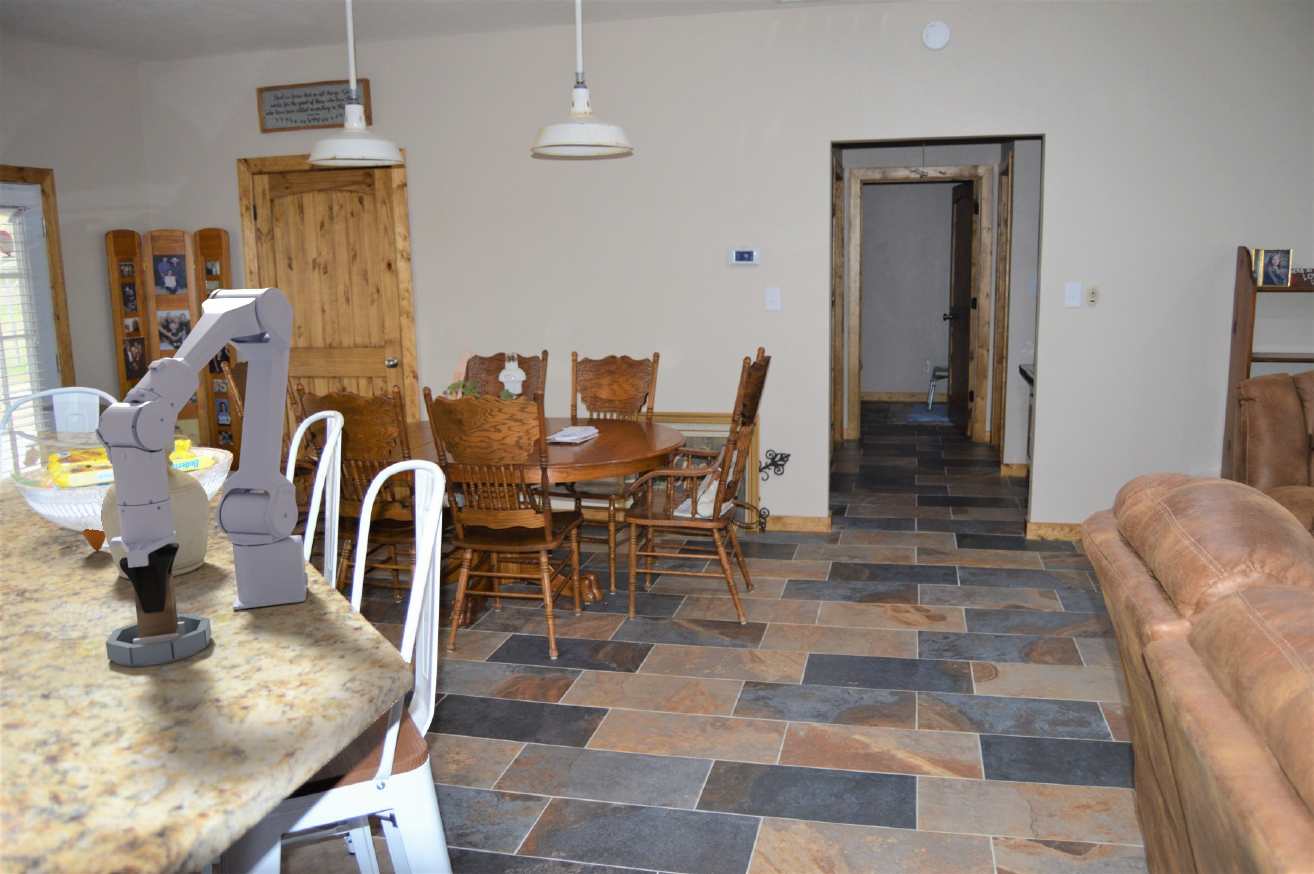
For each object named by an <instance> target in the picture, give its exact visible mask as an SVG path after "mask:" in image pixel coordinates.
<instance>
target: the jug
mask: <svg viewBox="0 0 1314 874" xmlns="http://www.w3.org/2000/svg"><path fill="white" fill-rule="evenodd" d="M175 442H176V439H175V435H173V438H172V440H171V442H169V443H168V444H167V445H166V446H165V447H164V449H165V458H166V467H167V476H168V485H169V493H170V502H171V511H172V520H173V529H174V531H175V532H176V539H175V540H174V541H173V542H171V543H178V544H179V549H178V551H177V554H176V556H175V559H174V563H173V567H172V573H173V578H174V577H179V576H181V575H185V574H188V573H191V572H194V571H196V570H197V569H199V568H201V567H202V566H203V565H204V563H205V557H206V554H207V549H208V540H209V533H210V531H209V529H210V521H211V519H210V518H211V507H210V502H209V501H210V500H209V497H208V494H207V493H206V492H207V491H206V489H205V488H204V487H203V485H202V484H201V483H200V481H199V480H198V479H196V477H194V476H192V475H191V474H189V473H187V472H185V471H183V470H182V469H178V468H175V467H173V465H174V462H173V460H171V459H170V456H171V455H172V454H173V451H174V450H175V449H174V448H175ZM106 491H107V493H106V496H105V498H104V500H103V504H102V510H101V521H102V526H103V530H104V533H105V536H106V537H105V540H106V543H107V545H108V548H109V551H110V555H111V557H112V560H113V562H114V566H115V567H116V568H117V571H118V575H119V576H120V577H121V578H124V579H127V580H129V581H130V579H129V578H128V576H127V575H126V574H125V573H124V572H123V570H122V569H121V567H120V563H119V561H120V560H121V559H122V558H125V557H127V552H126V551H125V550H124V549H123V548H122V547H121V546H111V540H112V539H113V538H115V537H121V530H120V522H119V514H118V506H117V499H116V490H115V482H114V483H113V484H112V485H110V486H109V488H108V490H106Z"/></svg>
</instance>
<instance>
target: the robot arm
mask: <svg viewBox="0 0 1314 874" xmlns="http://www.w3.org/2000/svg"><path fill="white" fill-rule="evenodd" d="M294 312H295V311H294V309H293V307H292V305H291V303H290V301H289V300H288V298H287V296H286V295H285V293H284V292H283V291H282V290H280V289H279V288H277V287H267V288H251V289H250V288H249V289H248V288H247V289H245V288H244V289H225V288H218V289H216V290H213V291H212V292H211V293H210V295H209V296H208V298H207V299H206V300H205V301H204V302H203V303H201V317H200V319H199V320H198V321H197V323H196V324H195V325H194V327H193V328H192V330H191V331H190V333H189V334H188V336H187V337H186V339H185V340H184V341H183V342H182V344H181V345H180V347H179V348H178V350H177V352H176V353H175V354H174V356H173V357H172V358H171V357H164V358H163V357H162V358H160V359H158V360H153V361H151V363H150V364H149V365H148V366H147V368H148V369H149V370H148V371H147V372H146V373H145V374H144V376H143V377H142V378H141V380H140V381H139V382H137V384H136V385H135V386H134V388H131V389H130V390H129V391H128V392H127V394H126V397H125V398H124V399H123V400H122V402H116V403H112V404H110V405H109V406H108V407H107V408H106V409H105V410H104V411H103V412H102V413H101V415H100V417H99V419H98V425H97V426H98V427H97V428H94V429H95V430H94V432H95V435H96V438H97V440H98V442H99V443H100V445H101V446H102V447H103V448H104V449H105V452H106V457H107V461H109V464H111V466H112V473H113V481H114V483H115V490H116V499H117V506H118V514H119V522H120V530H121V537H115V538H113V539H112V540H111V546H121V547H122V548H123V549H124V550H125V551H126V552H127V557H125V558H122V559H121V560H120V561H119V563H120V567H121V569H122V570H123V572H124V573H125V574H126V575H127V576H128V578H129V579H130V580H129V579H128V580H129V581H130V583H131V584H132V587H133V589H134V588H135V591H136V593H137V596H138V599H139V602H140V604H141V607H142V609H143V611H144V613H154V612H162V611H163V610H164V606H165V598H166V580H167V574H170V573H172V567H173V563H174V559H175V556H176V554H177V551H178V549H179V544H178V543H171V542H173V541H174V540H175V539H176V532H175V531H174V529H173V520H172V511H171V502H170V493H169V485H168V476H167V467H166V458H165V449H164V447H165V446H166V445H167V444H168V443H169V442H171V440H172V438H173V435H174V434H175V425H176V422H177V421H178V416H179V413H180V412H181V411H182V409H184V407H185V405H186V404H187V403H188V402H189V401H190V399H191V398H193V396H194V394H196V392H197V390H198V389H199V387H200V379H199V375H198V374H199V373H200V372H201V371H202V370H203V369H204V368H205V367H206V366H207V365H208V364H209V363H210V362H211V360H212V359H213V358H214V357H215V356H216V355H217V354H218V353H219V352H220V351H221V350H222V349H223V348H224V347H225V346H226V344H228V343H229V344H230V345H231V346H232V347H234V348H235V349H236V350H237V351H240V352H242V354H243V355H244V356H245V357H246V359H247V371H246V372H247V376H246V384H245V386H246V387H245V396H244V397H245V398H244V407H243V408H244V409H243V417H242V418H243V419H242V429H241V432H242V433H241V443H240V451H239V454H240V455H239V466H238V470H236V472H234V473H233V474H232V475H231V476H230V477H228V478H227V479H226V480H225V481H224V482H223V485H222V493H221V497H220V499H219V501H218V503H217V505H216V509H215V510H216V511H215V519H216V520H215V521H216V523H217V527H218V528H219V530H220V532H222V533H223V534H225V535H226V539H227V542H232V553H233V562H234V569H235V570H234V571H235V581H236V588H237V589H236V590H237V591H236V592H237V593H236V596H235V599H234V602H233V604H232V610H236V611H237V610H242V609H243V610H245V609H250V608H251V609H252V608H260V607H267V606H268V607H269V606H276V605H284V604H292V603H302V602H305V601H306V598H307V588H308V585H309V577H308V572H306V563H305V554H304V553H305V552H304V550H305V549H304V543H303V537H302V535H301V534H298V535H297V534H296V535H294V534H293V535H292V533H293V531H294V529H295V528H296V525H297V522H298V517H299V508H298V506H297V502H296V501H297V500H296V488H297V487H296V486H295V484H294V483H293V482H291V481H290V480H289V478H287V477H286V476H285V475H283V473H282V472H281V463H282V462H281V459H282V448H283V437H284V435H283V434H284V423H285V414H286V413H285V411H286V399H287V390H288V388H287V387H288V376H289V364H290V349H291V345H292V332H293V320H294ZM174 436H175V435H174ZM255 490H257V491H258V490H259V491H260V490H261V491H266V492H267V493H265V492H263V493H262V492H253V491H255Z"/></svg>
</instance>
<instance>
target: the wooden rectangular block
mask: <svg viewBox="0 0 1314 874" xmlns="http://www.w3.org/2000/svg"><path fill="white" fill-rule="evenodd" d="M133 592H134V594H133V595H134V605H135V613H136V620H137V621H136V622H137V623H138V632H139V637H147V636H155V635H164V634H173V633H175V632H176V630H177V628H178V620H177V615H178V613H177V612H178V611H177V602H176V593H175V592H176V591H175V582H174V577H173V573H170V574H167V580H166V598H165V606H164V610H163V611H162V612H154V613H144V611H143V609H142V607H141V604H140V602H139V599H138V596H137V593H136V591H135V588H134V587H133Z"/></svg>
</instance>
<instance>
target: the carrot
mask: <svg viewBox="0 0 1314 874" xmlns="http://www.w3.org/2000/svg"><path fill="white" fill-rule="evenodd" d="M86 467H87V468H90V467H92V468H93V466H92V465H91V464H86V465H85V468H86ZM81 532H82V534H83V536H84V538H85V540H86V541H87V543H88V544H89V545H90V546H91V548H92V549H93V550H95V551H96V552H99V551H100V550H101V549H102V547H103V544H104V543H105V540H106V536H105V533H104V531H99V530H93V529H92V530H89V529H85V530H84V531H82V530H81Z"/></svg>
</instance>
